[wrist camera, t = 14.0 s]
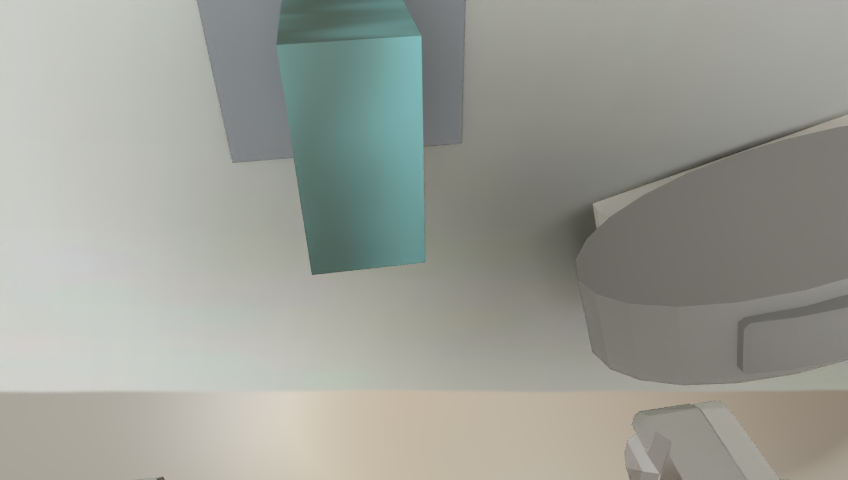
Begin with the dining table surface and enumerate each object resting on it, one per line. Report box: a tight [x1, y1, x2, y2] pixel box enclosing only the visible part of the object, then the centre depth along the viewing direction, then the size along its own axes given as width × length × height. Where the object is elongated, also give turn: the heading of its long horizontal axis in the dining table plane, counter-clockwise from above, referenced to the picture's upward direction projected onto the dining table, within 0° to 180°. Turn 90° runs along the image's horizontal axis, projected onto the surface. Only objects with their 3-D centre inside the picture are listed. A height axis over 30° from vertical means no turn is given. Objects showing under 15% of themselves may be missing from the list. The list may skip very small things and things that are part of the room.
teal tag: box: [276, 0, 425, 275], centre depth 24 cm, size 4×8×12 cm, turn 1°
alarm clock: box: [575, 115, 848, 385], centre depth 33 cm, size 23×6×13 cm, turn 107°
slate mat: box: [197, 0, 465, 163], centre depth 29 cm, size 12×11×1 cm
